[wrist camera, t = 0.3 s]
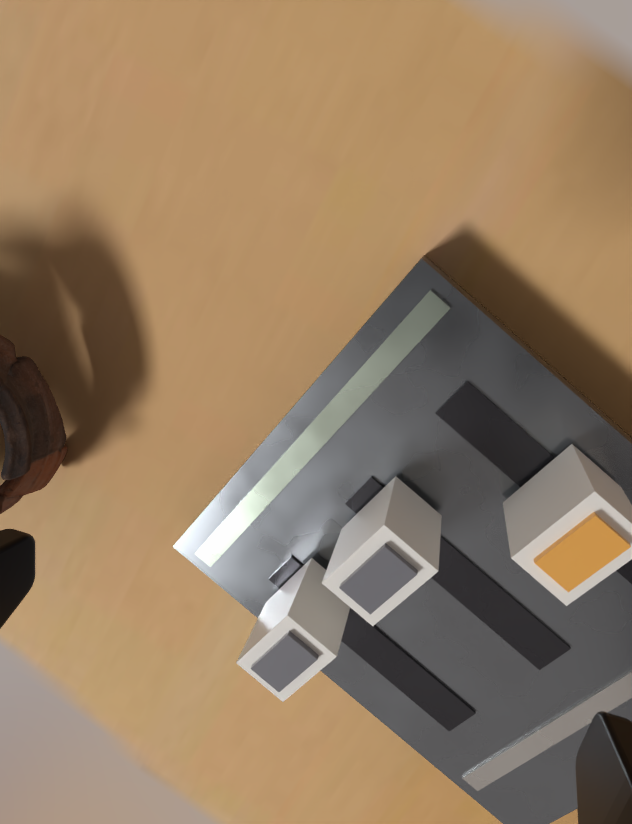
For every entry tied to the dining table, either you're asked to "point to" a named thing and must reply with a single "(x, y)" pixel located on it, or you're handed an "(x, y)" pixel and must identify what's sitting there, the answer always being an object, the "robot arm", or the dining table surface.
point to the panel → (442, 543)
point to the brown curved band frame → (27, 427)
